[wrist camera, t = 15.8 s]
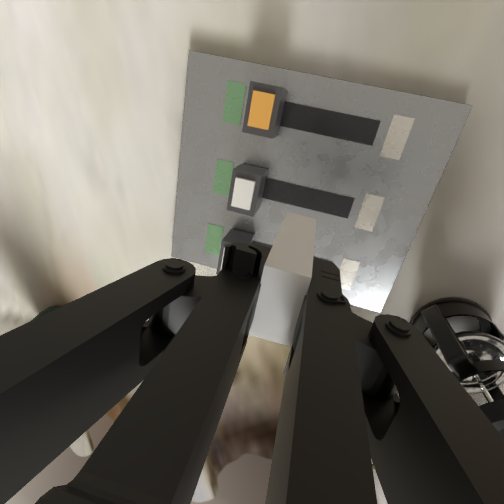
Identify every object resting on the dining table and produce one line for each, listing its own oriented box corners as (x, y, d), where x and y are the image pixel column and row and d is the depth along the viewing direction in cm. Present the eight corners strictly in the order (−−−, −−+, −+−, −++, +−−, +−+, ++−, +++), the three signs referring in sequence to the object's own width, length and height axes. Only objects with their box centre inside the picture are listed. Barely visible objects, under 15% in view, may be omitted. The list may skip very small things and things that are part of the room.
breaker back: (248, 265, 41) (239, 282, 37) (225, 259, 41) (215, 275, 37) (254, 234, 39) (246, 248, 35) (231, 228, 39) (220, 241, 35)
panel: (378, 306, 41) (380, 313, 40) (176, 252, 44) (171, 256, 43) (466, 105, 31) (473, 105, 29) (194, 52, 34) (188, 50, 32)
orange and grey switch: (277, 136, 34) (271, 139, 30) (250, 130, 34) (241, 132, 30) (287, 90, 32) (282, 86, 28) (258, 84, 32) (249, 80, 28)
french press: (509, 341, 39) (717, 592, 19) (436, 372, 43) (543, 609, 22) (457, 273, 37) (625, 470, 17) (386, 312, 41) (451, 511, 20)
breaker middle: (260, 206, 37) (252, 217, 33) (235, 200, 37) (225, 211, 33) (268, 169, 35) (261, 176, 31) (242, 163, 36) (232, 169, 32)
